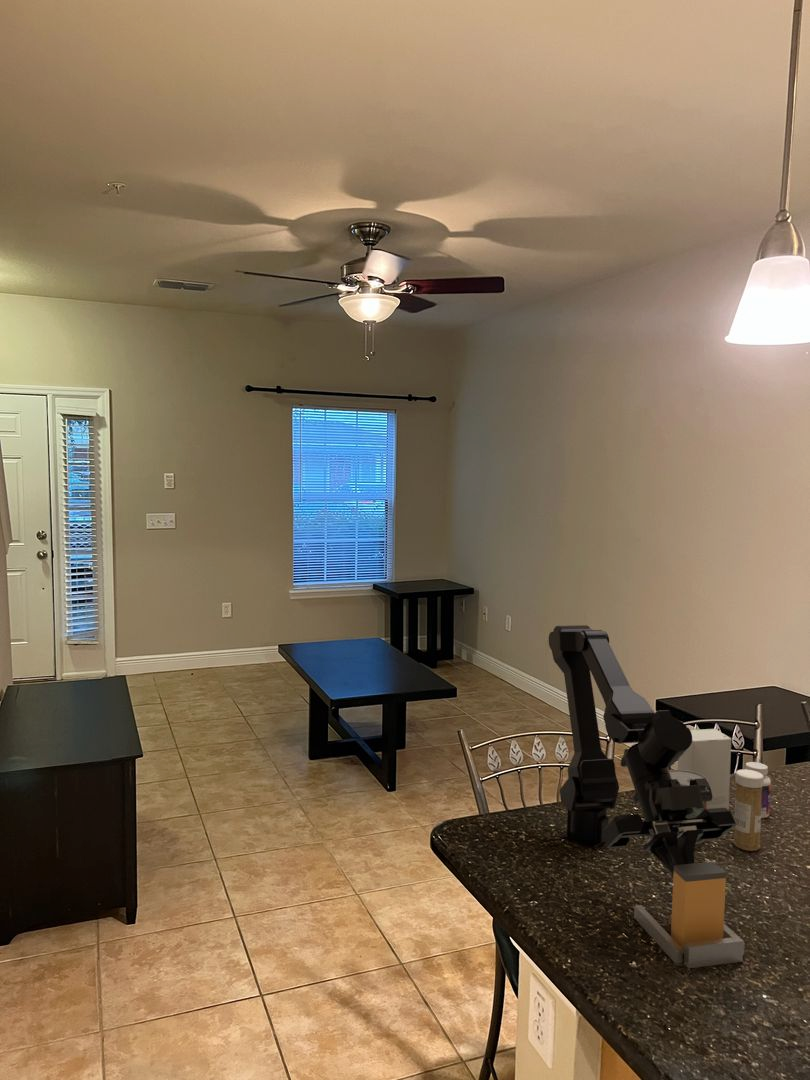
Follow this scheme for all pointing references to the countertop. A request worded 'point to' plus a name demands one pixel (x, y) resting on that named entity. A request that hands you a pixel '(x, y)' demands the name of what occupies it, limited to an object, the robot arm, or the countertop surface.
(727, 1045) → the countertop surface
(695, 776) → the canned tomato
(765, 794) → the pill bottle
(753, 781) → the sprinkles bottle
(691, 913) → the tan tall block
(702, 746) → the skincare box
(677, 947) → the gray rectangular tray
